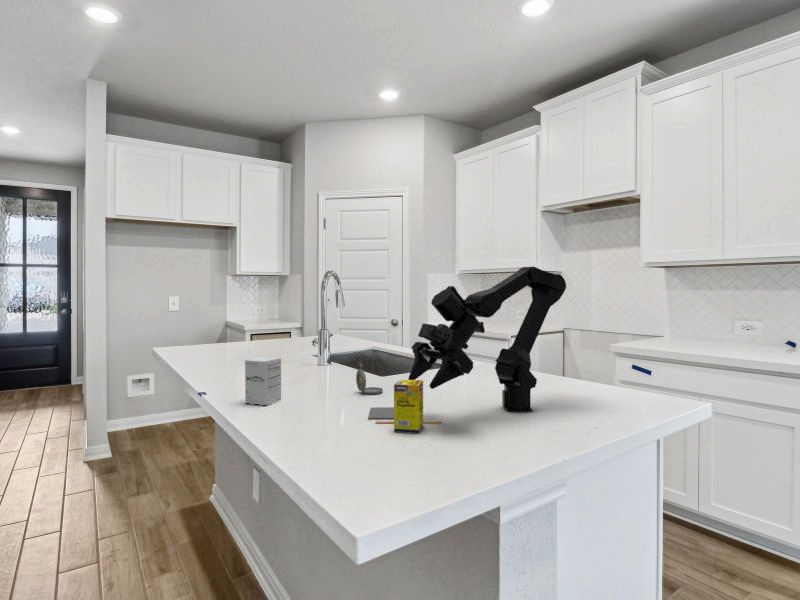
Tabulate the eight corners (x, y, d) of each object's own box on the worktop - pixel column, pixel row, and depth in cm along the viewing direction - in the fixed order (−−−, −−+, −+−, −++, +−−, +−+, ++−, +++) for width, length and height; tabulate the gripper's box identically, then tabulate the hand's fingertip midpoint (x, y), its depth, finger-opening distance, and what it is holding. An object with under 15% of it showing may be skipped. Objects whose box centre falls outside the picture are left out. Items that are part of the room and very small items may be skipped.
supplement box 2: (419, 434, 106) (419, 385, 106) (393, 432, 107) (393, 384, 107) (423, 426, 112) (423, 379, 111) (398, 424, 113) (398, 379, 113)
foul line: (441, 421, 115) (441, 420, 115) (442, 423, 114) (442, 421, 114) (375, 422, 115) (375, 421, 115) (375, 423, 114) (375, 422, 114)
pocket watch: (386, 391, 148) (386, 359, 148) (371, 397, 141) (370, 363, 140) (365, 389, 152) (365, 357, 152) (349, 394, 145) (348, 361, 145)
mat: (415, 408, 127) (415, 407, 127) (416, 419, 117) (416, 417, 117) (370, 408, 127) (370, 407, 127) (368, 419, 117) (368, 417, 117)
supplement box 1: (244, 404, 134) (243, 359, 133) (261, 398, 140) (260, 355, 140) (266, 406, 131) (265, 361, 130) (282, 400, 138) (281, 357, 137)
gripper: (418, 309, 121) (379, 356, 116) (462, 313, 105) (420, 367, 100) (443, 339, 125) (407, 385, 120) (490, 346, 109) (451, 400, 104)
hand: (419, 384), depth 111 cm, fingers open, 9 cm apart
